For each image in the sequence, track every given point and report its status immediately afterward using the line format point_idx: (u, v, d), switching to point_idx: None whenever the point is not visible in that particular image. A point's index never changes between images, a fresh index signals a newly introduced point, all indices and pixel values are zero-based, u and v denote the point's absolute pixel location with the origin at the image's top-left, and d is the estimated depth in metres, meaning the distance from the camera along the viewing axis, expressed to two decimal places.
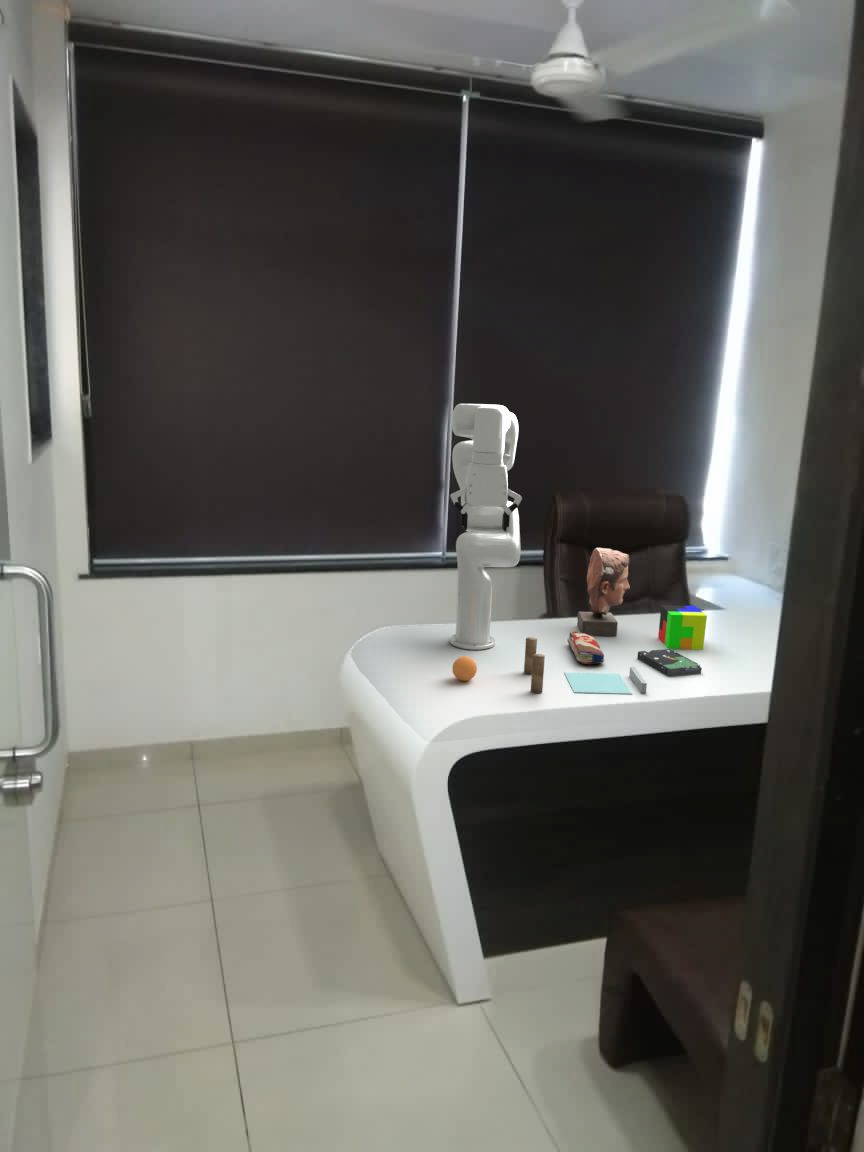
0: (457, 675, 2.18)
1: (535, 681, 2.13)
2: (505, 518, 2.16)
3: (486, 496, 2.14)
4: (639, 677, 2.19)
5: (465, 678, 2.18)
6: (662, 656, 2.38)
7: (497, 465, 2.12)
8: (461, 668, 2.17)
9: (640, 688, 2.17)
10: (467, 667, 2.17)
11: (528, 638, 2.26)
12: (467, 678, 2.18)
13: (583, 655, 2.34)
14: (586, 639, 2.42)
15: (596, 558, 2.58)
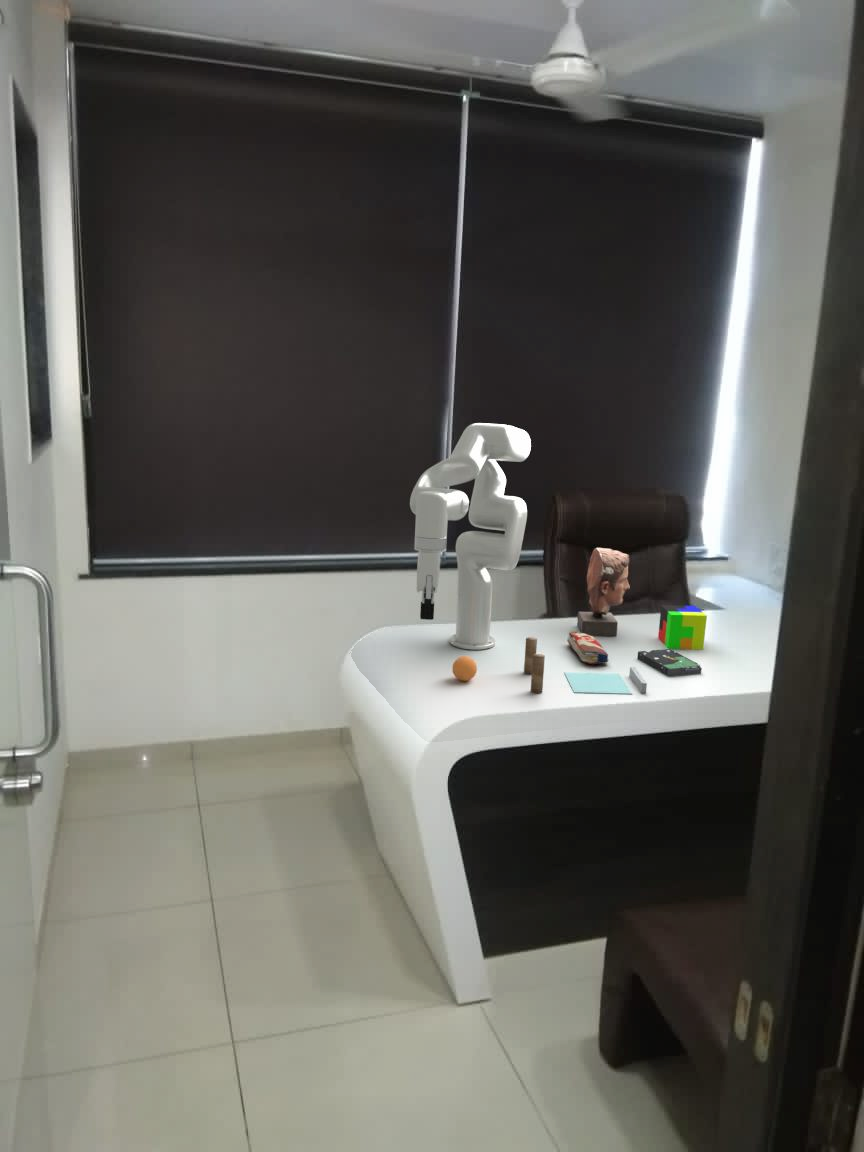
0: (457, 675, 2.18)
1: (535, 681, 2.13)
2: None
3: None
4: (639, 677, 2.19)
5: (465, 678, 2.18)
6: (662, 656, 2.38)
7: None
8: (461, 668, 2.17)
9: (640, 688, 2.17)
10: (467, 667, 2.17)
11: (528, 638, 2.26)
12: (467, 678, 2.18)
13: (588, 655, 2.34)
14: (587, 639, 2.42)
15: (596, 558, 2.58)
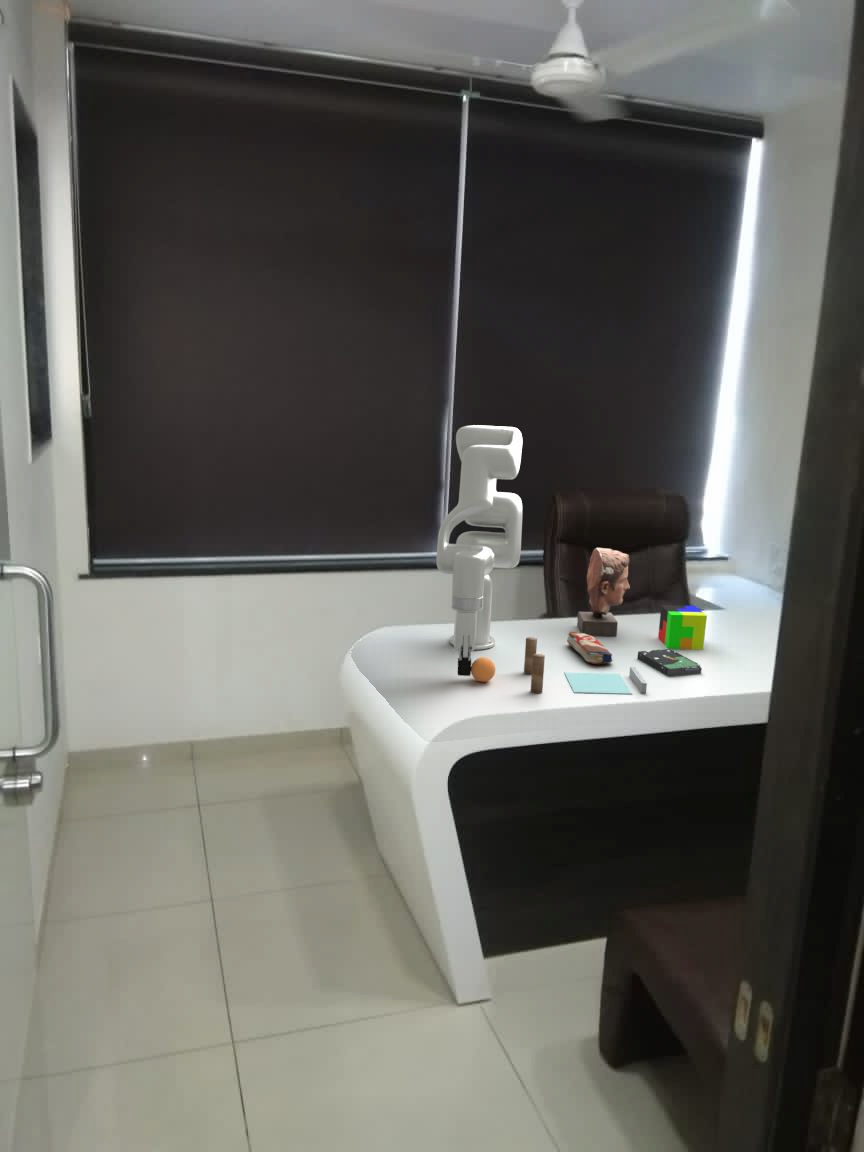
0: (476, 667, 2.17)
1: (535, 681, 2.13)
2: None
3: None
4: (639, 677, 2.19)
5: (476, 676, 2.18)
6: (662, 656, 2.38)
7: None
8: (485, 669, 2.17)
9: (640, 688, 2.17)
10: (489, 674, 2.17)
11: (528, 638, 2.26)
12: (477, 677, 2.18)
13: (593, 655, 2.34)
14: (589, 639, 2.42)
15: (596, 558, 2.58)
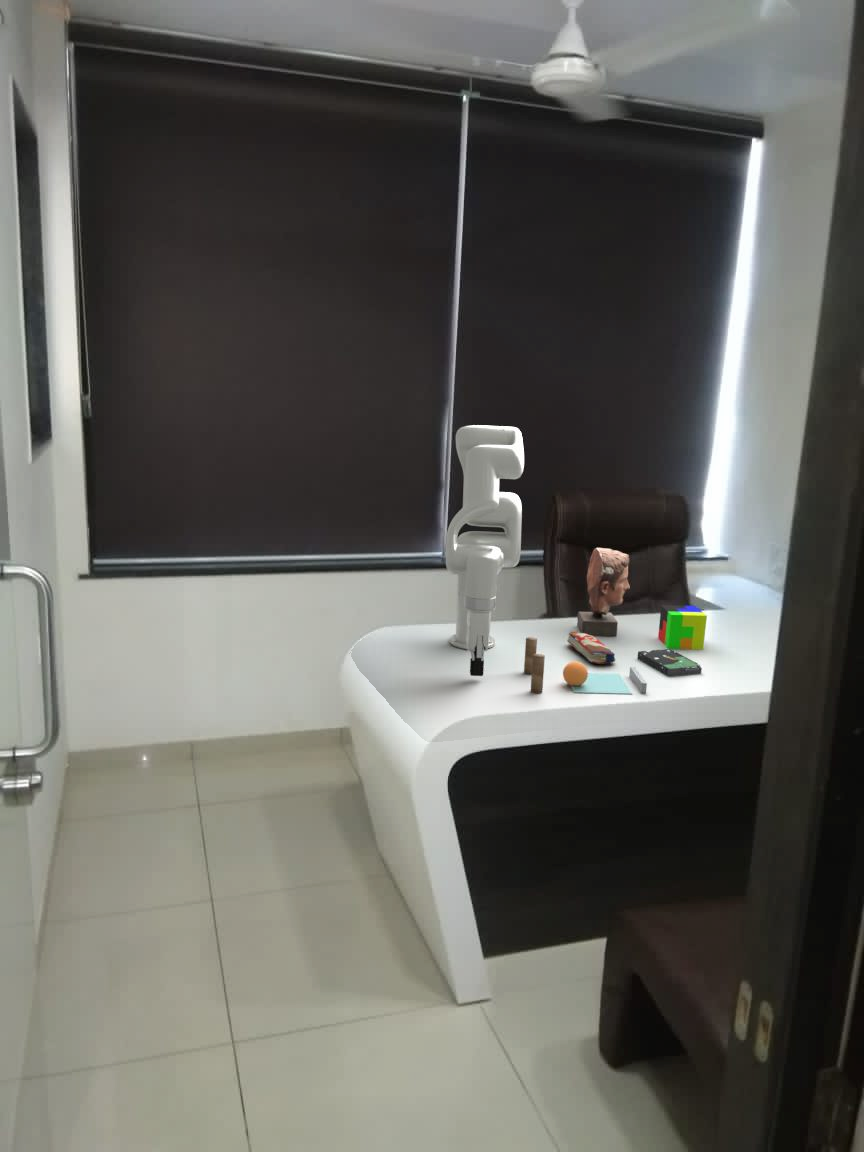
0: (579, 669, 2.16)
1: (535, 681, 2.13)
2: None
3: None
4: (639, 677, 2.19)
5: (570, 672, 2.16)
6: (662, 656, 2.38)
7: None
8: (581, 678, 2.16)
9: (640, 688, 2.17)
10: (576, 683, 2.17)
11: (528, 638, 2.26)
12: (569, 673, 2.17)
13: (597, 655, 2.34)
14: (591, 639, 2.43)
15: (596, 558, 2.58)
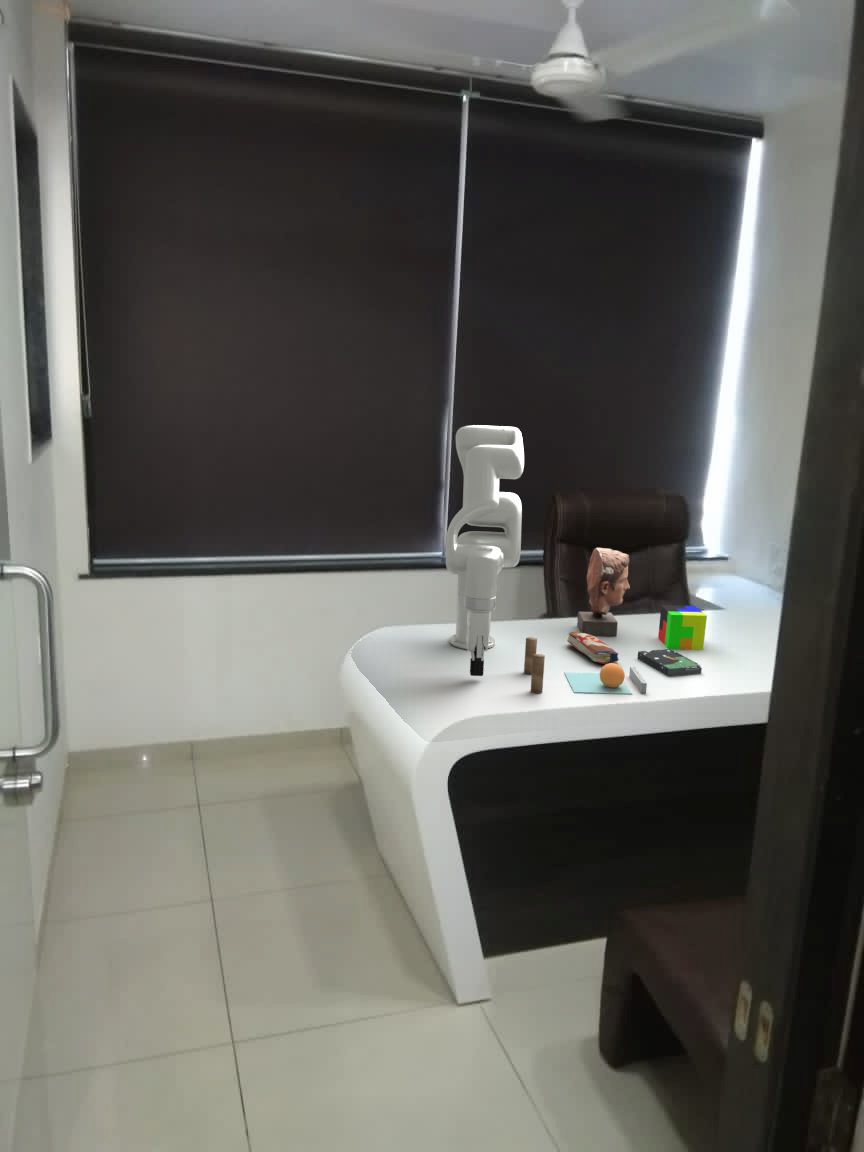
0: (611, 686, 2.17)
1: (535, 681, 2.13)
2: None
3: None
4: (639, 677, 2.19)
5: (619, 682, 2.17)
6: (662, 656, 2.38)
7: None
8: (609, 678, 2.16)
9: (640, 688, 2.17)
10: (613, 673, 2.16)
11: (528, 638, 2.26)
12: (621, 681, 2.17)
13: (601, 655, 2.34)
14: (592, 638, 2.43)
15: (596, 558, 2.58)
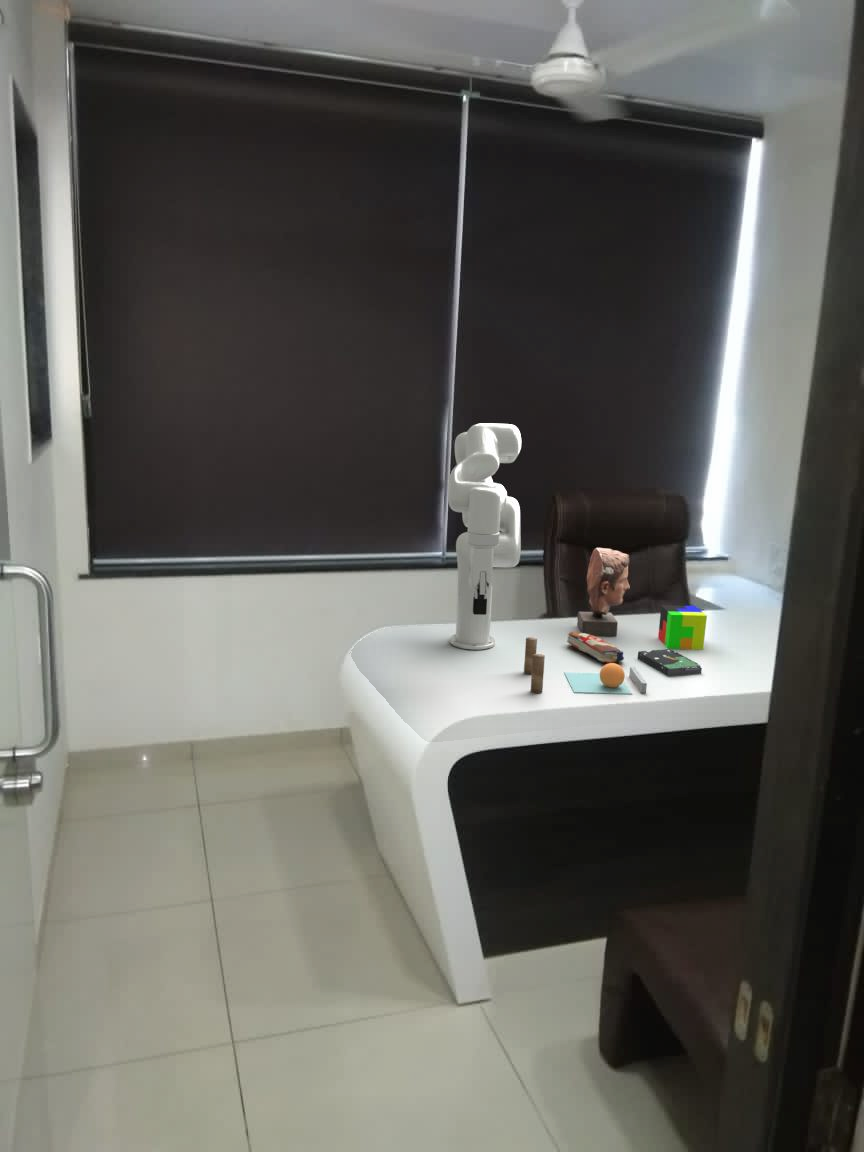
0: (611, 686, 2.17)
1: (535, 681, 2.13)
2: None
3: None
4: (639, 677, 2.19)
5: (619, 682, 2.17)
6: (662, 656, 2.38)
7: None
8: (609, 678, 2.16)
9: (640, 688, 2.17)
10: (613, 673, 2.16)
11: (528, 638, 2.26)
12: (621, 681, 2.17)
13: (608, 655, 2.35)
14: (595, 638, 2.43)
15: (596, 558, 2.58)
